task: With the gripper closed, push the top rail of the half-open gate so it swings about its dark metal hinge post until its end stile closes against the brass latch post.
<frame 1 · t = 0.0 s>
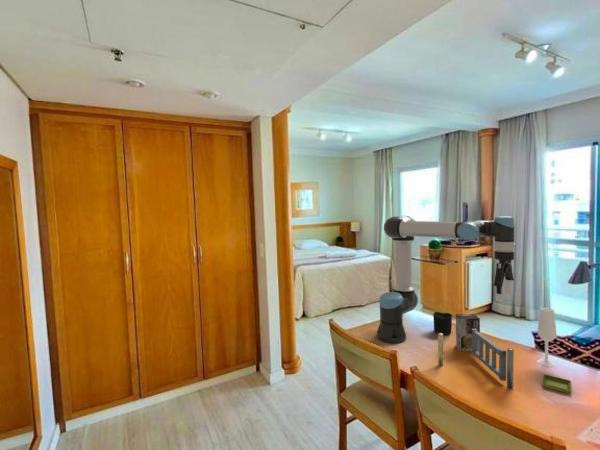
hand: (503, 297, 146), 28 cm above the table, tool pointing down, fingers open, 13 cm apart
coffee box: (467, 348, 159), on the table
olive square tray: (556, 387, 125), on the table
champagne flute: (546, 363, 142), on the table
hinge post: (510, 387, 125), on the table
pen holder: (442, 332, 179), on the table
gate: (487, 352, 138), point 7 cm above the table, hinge at 45.0°
latch post: (440, 364, 143), on the table
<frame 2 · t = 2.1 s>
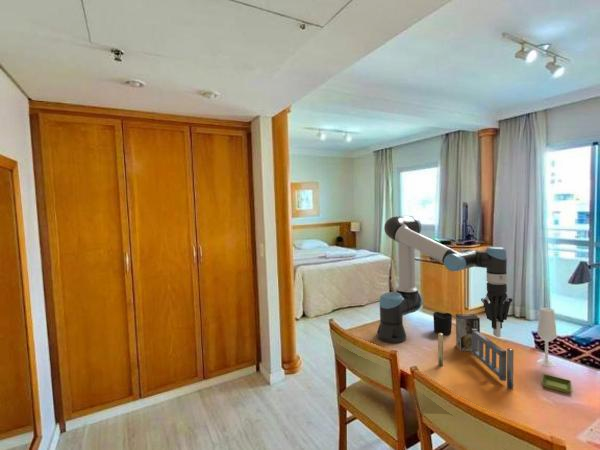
hand: (496, 335, 143), 12 cm above the table, tool pointing down, fingers closed
nothing on the table moved.
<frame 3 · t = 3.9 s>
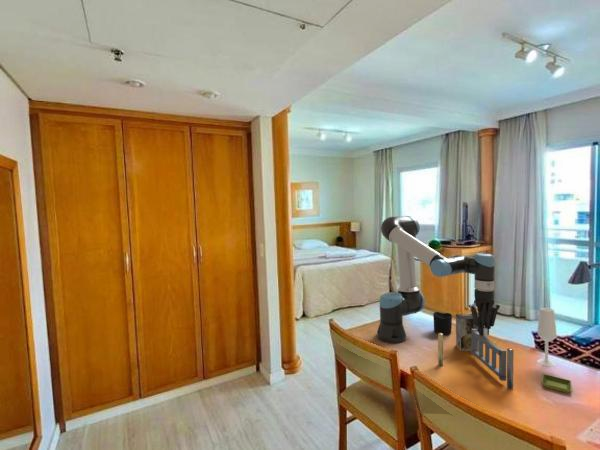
hand: (483, 341, 143), 10 cm above the table, tool pointing down, fingers closed
gate: (487, 352, 138), point 7 cm above the table, hinge at 44.7°, touching gripper
everything else where it was.
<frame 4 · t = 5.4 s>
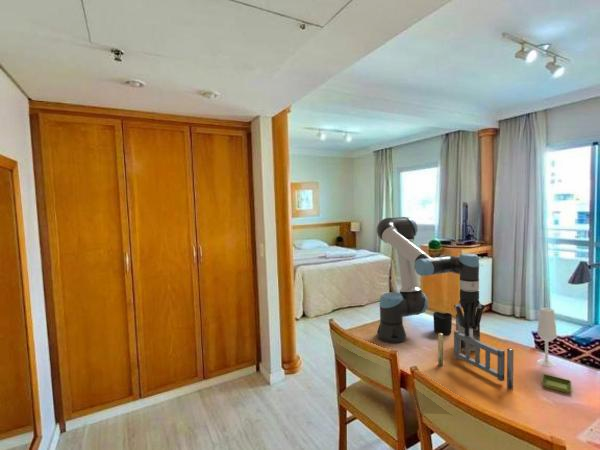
hand: (469, 342, 142), 10 cm above the table, tool pointing down, fingers closed
gate: (477, 354, 137), point 7 cm above the table, hinge at 22.5°, touching gripper
everything else where it was.
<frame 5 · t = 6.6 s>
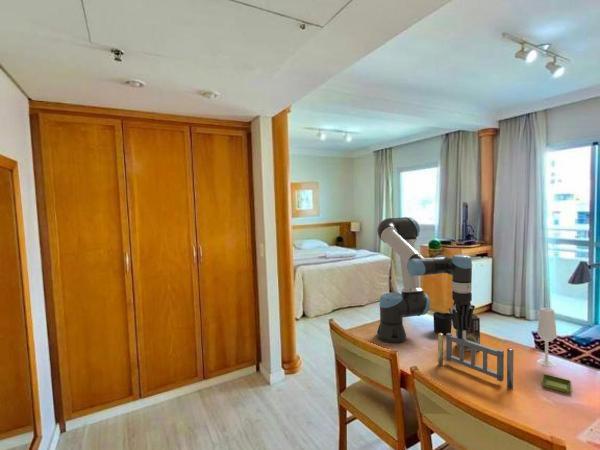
hand: (462, 344, 141), 10 cm above the table, tool pointing down, fingers closed
gate: (473, 355, 135), point 8 cm above the table, hinge at 8.8°, touching gripper
everything else where it was.
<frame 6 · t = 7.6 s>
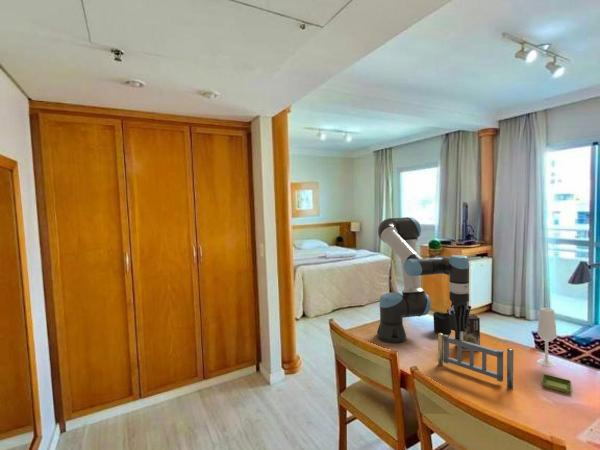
hand: (459, 345, 140), 10 cm above the table, tool pointing down, fingers closed
gate: (471, 356, 134), point 8 cm above the table, hinge at 2.5°, touching gripper
everything else where it was.
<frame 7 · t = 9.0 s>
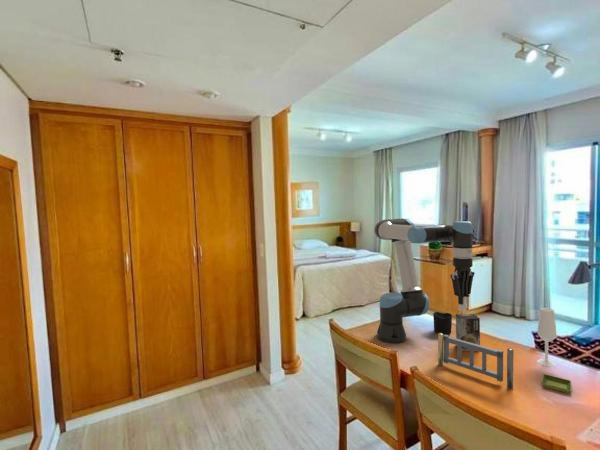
hand: (462, 311, 141), 24 cm above the table, tool pointing down, fingers closed
gate: (471, 356, 134), point 8 cm above the table, hinge at 2.5°
everything else where it was.
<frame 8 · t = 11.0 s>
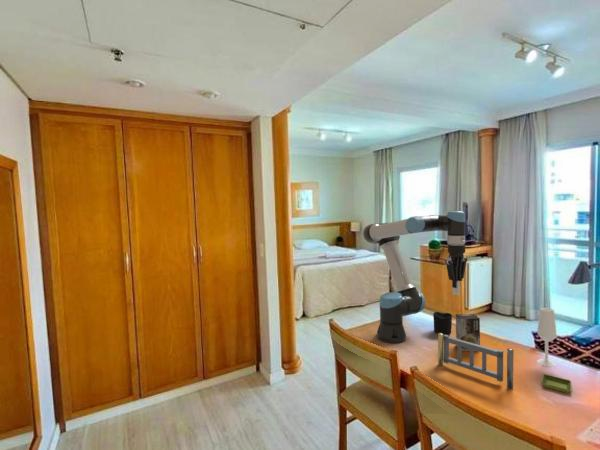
hand: (456, 294, 152), 28 cm above the table, tool pointing down, fingers closed
nothing on the table moved.
at the end: gate at +2° (first picture: +45°) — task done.
